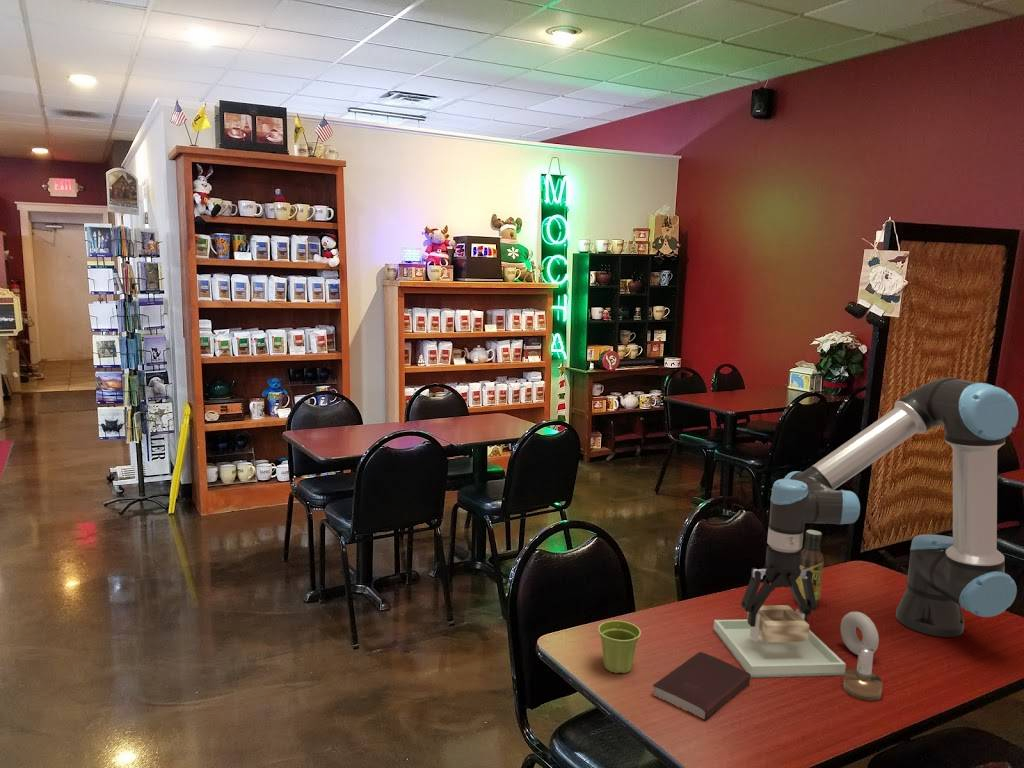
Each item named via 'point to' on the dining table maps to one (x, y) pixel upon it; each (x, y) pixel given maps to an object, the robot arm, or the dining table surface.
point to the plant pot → (618, 644)
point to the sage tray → (778, 653)
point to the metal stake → (863, 678)
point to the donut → (866, 628)
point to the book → (702, 684)
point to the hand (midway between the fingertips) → (775, 638)
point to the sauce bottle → (812, 562)
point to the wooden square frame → (782, 624)
